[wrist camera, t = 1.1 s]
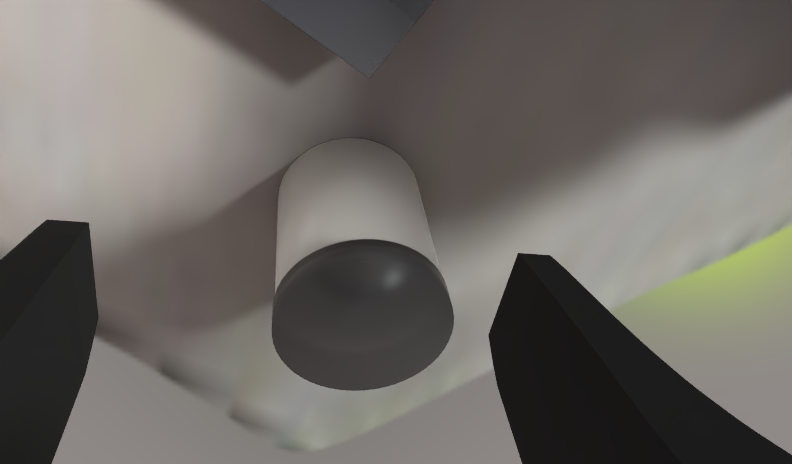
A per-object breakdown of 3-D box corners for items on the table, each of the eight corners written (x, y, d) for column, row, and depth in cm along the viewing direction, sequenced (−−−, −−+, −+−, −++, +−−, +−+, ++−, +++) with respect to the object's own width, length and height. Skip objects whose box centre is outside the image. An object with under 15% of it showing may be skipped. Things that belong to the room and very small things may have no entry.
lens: (448, 185, 22) (490, 310, 18) (361, 275, 24) (377, 411, 20) (334, 109, 20) (346, 228, 16) (248, 214, 22) (235, 349, 17)
